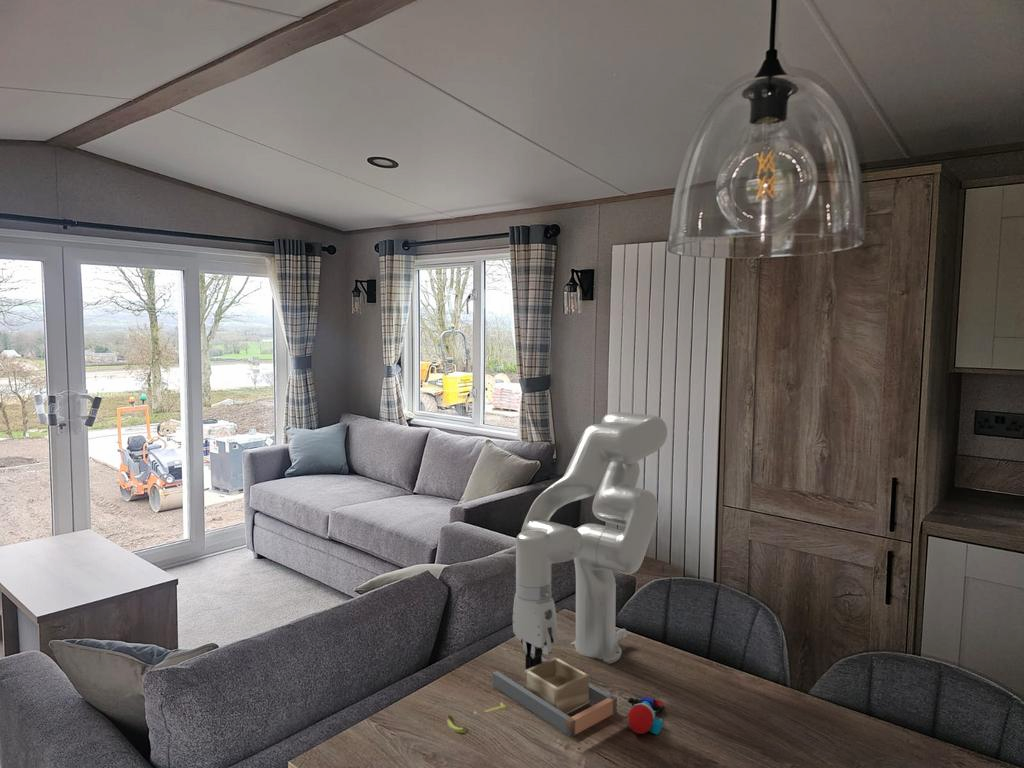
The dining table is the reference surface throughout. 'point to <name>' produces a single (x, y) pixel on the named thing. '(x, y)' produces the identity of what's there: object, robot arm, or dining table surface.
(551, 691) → the crate
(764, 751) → the dining table surface
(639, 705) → the toy figure
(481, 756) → the dining table surface
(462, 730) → the key
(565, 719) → the rail bay
